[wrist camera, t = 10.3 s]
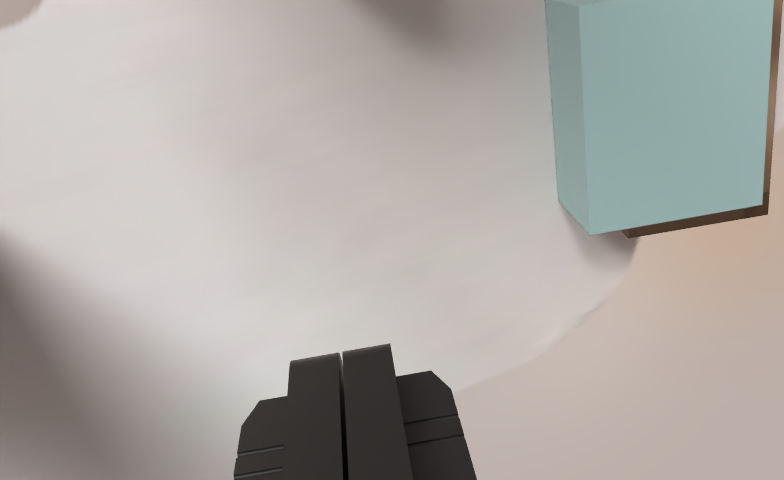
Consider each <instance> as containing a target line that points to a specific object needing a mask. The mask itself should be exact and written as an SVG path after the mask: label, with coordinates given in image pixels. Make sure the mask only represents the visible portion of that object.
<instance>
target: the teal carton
mask: <svg viewBox="0 0 784 480" xmlns="http://www.w3.org/2000/svg"><path fill="white" fill-rule="evenodd" d="M773 6H774V0H545V10H546V25H547V40H548V55H549V70H550V85H551V100H552V115H553V130H554V145H555V160H556V175H557V190H558V201H559V202H560V203H561V204H562V205H563V206H564V207H565V209H566V210H567V211H568V212H569V213H570V214H571V215H572V216H573V217H574V219H575V220H576V221H577V222H578V223H579V224H580V225H581V226H582V228H583V229H584V230H585V231H586V232H587V233H588V234H589V235H595V234H601V233H607V232H612V231H618V230H623V229H629V228H635V227H640V226H646V225H651V224H657V223H663V222H668V221H674V220H679V219H685V218H691V217H696V216H702V215H708V214H713V213H719V212H724V211H730V210H736V209H741V208H747V207H752V206H758V205H762V201H763V184H764V166H765V148H766V130H767V113H768V95H769V77H770V59H771V42H772V24H773Z"/></svg>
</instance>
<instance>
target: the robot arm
mask: <svg viewBox="0 0 784 480" xmlns="http://www.w3.org/2000/svg"><path fill="white" fill-rule="evenodd" d="M237 454H238V458H236V463H235V469H234V480H477V478H476V475H475V471H474V468H473V464H472V461H471V458H470V454H469V450H468V447H467V443H466V440H465V438H464V433H463V429H462V426H461V423H460V419H459V417H458V412H457V408H456V405H455V402H454V398H453V394H452V391H451V389H450V388H449V387H448V386H447V385H446V384H445V383H444V382H443V381H442V380H441V379H439V378H438V377H437V376H436V375H435V374H434V373H433V372H432V371H426V372H420V373H415V374H409V375H403V376H397V377H396V375H395V369H394V363H393V358H392V352H391V346H390V344H384V345H379V346H373V347H367V348H361V349H356V350H350V351H344V352H343V364H342V360H341V356H340V354H339V353H334V354H328V355H322V356H316V357H311V358H305V359H299V360H293V361H291V362H290V368H289V382H288V395H287V396H284V397H279V398H273V399H267V400H262V401H259V402H258V404H257V405H256V407H255V408H254V409H253V411H252V412H251V414H250V415H249V416H248V418H247V419H246V421H245V422H244V423H243V425H242V426H241V433H240V439H239V445H238V451H237Z"/></svg>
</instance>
